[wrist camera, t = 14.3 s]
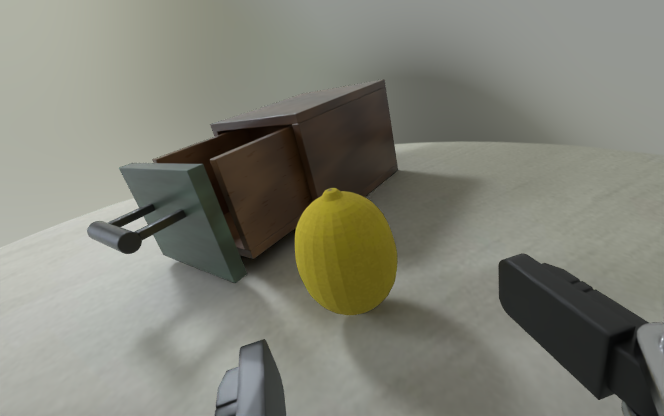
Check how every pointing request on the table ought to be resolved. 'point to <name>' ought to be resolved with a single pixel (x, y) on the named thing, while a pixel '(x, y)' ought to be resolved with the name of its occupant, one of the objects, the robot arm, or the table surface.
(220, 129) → the cabinet
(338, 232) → the lemon
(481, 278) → the table surface
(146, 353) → the table surface
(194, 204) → the drawer
